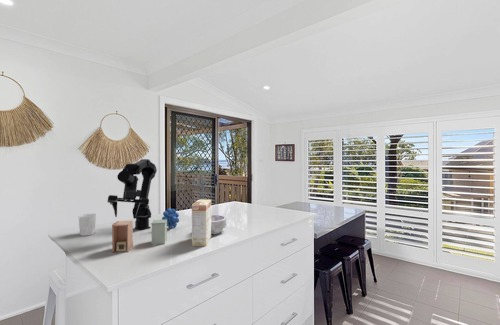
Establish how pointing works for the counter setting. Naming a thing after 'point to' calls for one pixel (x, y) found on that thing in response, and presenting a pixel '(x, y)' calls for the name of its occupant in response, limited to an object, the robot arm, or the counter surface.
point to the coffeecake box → (201, 222)
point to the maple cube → (122, 245)
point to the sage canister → (159, 231)
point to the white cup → (87, 224)
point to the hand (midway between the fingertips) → (126, 217)
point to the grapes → (171, 217)
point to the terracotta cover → (122, 233)
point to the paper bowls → (217, 223)
